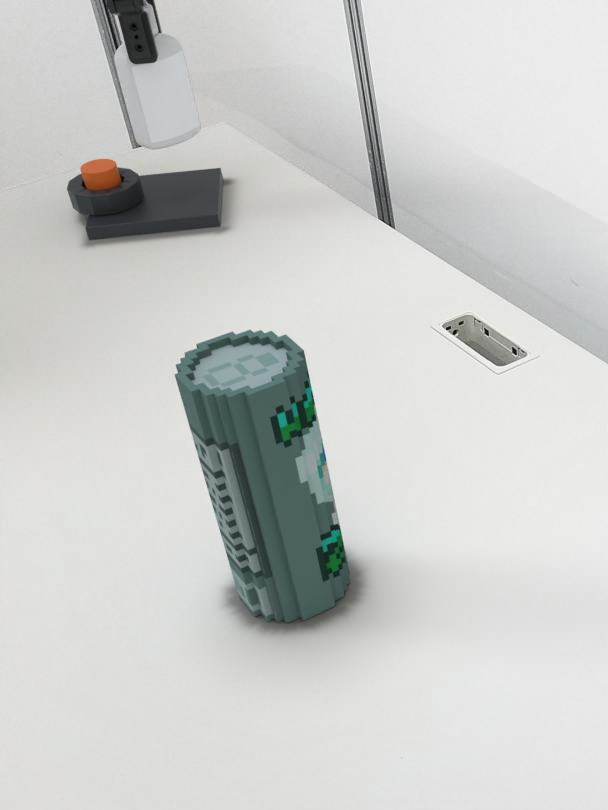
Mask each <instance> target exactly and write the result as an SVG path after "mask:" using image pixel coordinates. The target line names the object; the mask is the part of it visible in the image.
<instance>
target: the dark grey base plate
mask: <svg viewBox="0 0 608 810" xmlns="http://www.w3.org/2000/svg"><path fill="white" fill-rule="evenodd" d="M117 167H118V166H117ZM118 171H119V174H120V178H121V181H122V183H121V184H119V185H118V186H116V187H113V188H110V189H106V190H89V189H86V186H85V183H84V180H83V176H82V173H81V172H80V173H79V174H77V175H76V176H74V177H73V178H71V179H70V180H69V181H68V182H67V187H66V190H67V194H68V196H69V201H70V203H71V206H72V209H73V210H75V211H76V212H77V213H78V214H81V215H85V216H86V215H87V219H86V224H85V231H86V234H87V237H88V240H89V241H95V240H104V239H112V238H113V239H114V238H115V239H116V238H124V237H133V236H142V235H151V234H152V235H154V234H162V233H172V232H181V231H182V232H183V231H191V230H199V229H200V230H201V229H202V230H203V229H210V228H221V225H222V211H223V192H224V176H223V171H222V168H221V167H215V168H205V169H204V168H203V169H193V170H183V171H174V172H173V171H172V172H163V173H153V174H151V173H150V174H141V175H140V174H139V173H137V172H135V170H132V169H131V168H127V167H126V168H124V167H118Z"/></svg>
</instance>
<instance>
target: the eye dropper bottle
mask: <svg viewBox="0 0 608 810" xmlns="http://www.w3.org/2000/svg"><path fill="white" fill-rule="evenodd" d="M147 11H148V16H149V20H150V24H151V28H152V32H153V36H154V40H155V44H156V48H157V52H158V58H157V61H156V62H154V63H147V64H133V63H132V62H131V61H130V60H129V57H128V53H127V49H126V46H125V42H122V43H121V44H120V45H119V46H118V48H117V49H116V51H115V52H114V57H113V60H114V65H115V69H116V73H117V77H118V81H119V84H120V88H121V92H122V96H123V99H124V104H125V106H126V111H127V115H128V118H129V121H130V125H131V129H132V133H133V137H134V140H135V142H136V143H137V144H138V145H139V146H142V147H143V148H146V149H147V150H161V149H166V148H169V147H173V146H176V145H179V144H182V143H184V142H187V141H188V140H190V139H192V138H194V137H195V136H197V135H198V134H199V133H200V132H201V130H202V123H201V119H200V115H199V111H198V107H197V103H196V98H195V95H194V94H195V93H194V89H193V85H192V81H191V78H190V74H189V69H188V65H187V61H186V58H185V53H184V49H183V47H182V44H181V42H180V41H179V40H178V39H177V38H176V37H174V36H173V35H170V34H167V33H163V32H162V33H158V27H157V23H156V19H155V15H154V11H153V7H152V5H150V4H148V8H147Z"/></svg>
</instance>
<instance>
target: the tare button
mask: <svg viewBox="0 0 608 810" xmlns="http://www.w3.org/2000/svg"><path fill="white" fill-rule="evenodd" d="M79 170H80V174H81V173H82V176H83V180H84V183H85V186H86V189H89V190H106V189H110V188H113V187H116V186H118V185H119V184H121V183H122V181H121V178H120V174H119V171H118V164H117V162H116V160H113V159H111V158H97V159H93V160H89V161H86V162H84V163H83V164H81V166H80V168H79Z"/></svg>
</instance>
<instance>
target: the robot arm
mask: <svg viewBox="0 0 608 810" xmlns="http://www.w3.org/2000/svg"><path fill="white" fill-rule="evenodd" d="M105 1H106V2H105V4H106V8H107V10H108V11H109V14H111V15H114V16H117V19H118V21H119V27H120V30H121V33H122V37H123V41H124V42H125V46H126V49H127V53H128V57H129V60H130V61H131V62H132V63H133V64H147V63H154V62H156V61H157V58H158V52H157V48H156V44H155V40H154V36H153V32H152V28H151V24H150V20H149V16H148V11H147V8H148V4H150V5H152V7H153V11H154V15H155V19H156V23H157V27H158V33H163V30H162V27H161V23H160V18H159V14H158V10H157V6H156V2H155V0H105Z"/></svg>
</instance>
